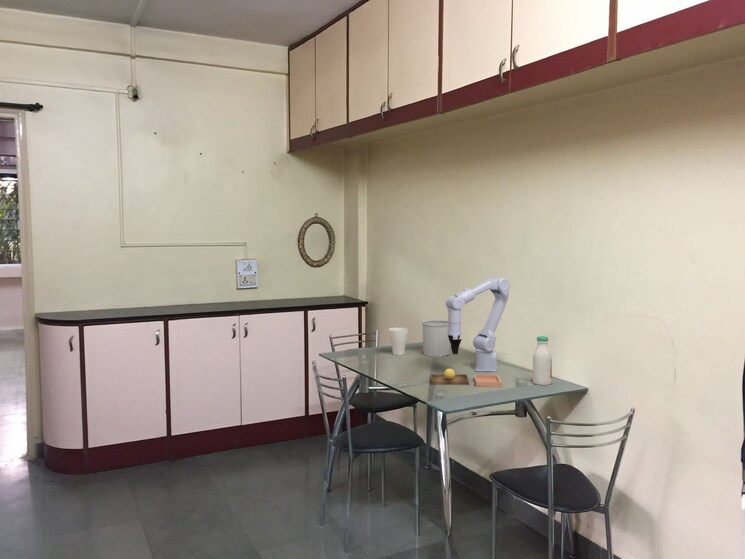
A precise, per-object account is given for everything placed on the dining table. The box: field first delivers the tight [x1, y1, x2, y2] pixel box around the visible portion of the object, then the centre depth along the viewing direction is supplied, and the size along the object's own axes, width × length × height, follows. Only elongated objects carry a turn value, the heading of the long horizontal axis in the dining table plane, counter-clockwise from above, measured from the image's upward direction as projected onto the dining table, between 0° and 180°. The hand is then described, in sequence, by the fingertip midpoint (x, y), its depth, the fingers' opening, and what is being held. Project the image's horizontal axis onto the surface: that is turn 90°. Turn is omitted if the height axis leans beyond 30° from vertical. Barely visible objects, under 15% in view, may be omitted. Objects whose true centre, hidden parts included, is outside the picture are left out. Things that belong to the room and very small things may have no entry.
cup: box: [387, 327, 409, 356], centre depth 326 cm, size 10×10×14 cm
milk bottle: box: [532, 335, 553, 386], centre depth 262 cm, size 8×8×20 cm
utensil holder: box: [421, 318, 451, 358], centre depth 324 cm, size 15×15×18 cm
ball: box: [443, 368, 456, 380], centre depth 268 cm, size 5×5×5 cm
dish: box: [473, 374, 503, 388], centre depth 264 cm, size 10×12×2 cm
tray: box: [430, 373, 470, 386], centre depth 269 cm, size 16×12×2 cm
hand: (454, 352), depth 280 cm, fingers open, 7 cm apart
